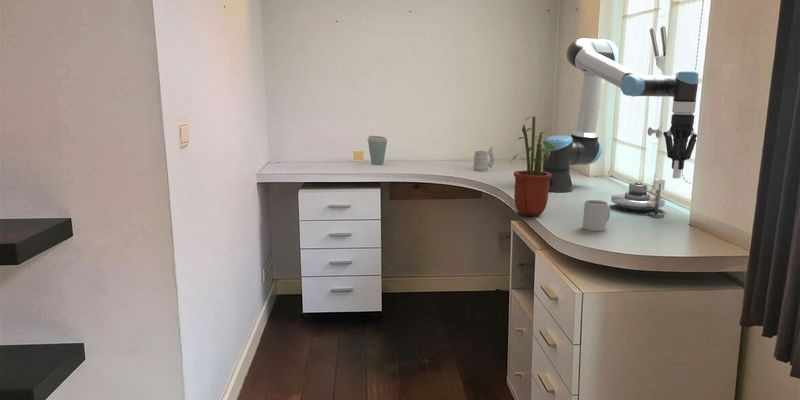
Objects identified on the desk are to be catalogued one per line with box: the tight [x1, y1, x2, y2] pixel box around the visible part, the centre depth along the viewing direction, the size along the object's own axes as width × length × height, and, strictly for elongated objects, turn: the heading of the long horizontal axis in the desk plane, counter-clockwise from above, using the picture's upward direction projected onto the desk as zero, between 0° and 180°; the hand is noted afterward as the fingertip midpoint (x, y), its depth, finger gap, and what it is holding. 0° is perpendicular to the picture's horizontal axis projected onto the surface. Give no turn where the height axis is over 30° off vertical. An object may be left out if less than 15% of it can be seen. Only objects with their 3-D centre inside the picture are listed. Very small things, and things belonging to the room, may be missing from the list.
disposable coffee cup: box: [366, 135, 388, 166], centre depth 331 cm, size 11×11×15 cm
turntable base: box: [620, 205, 653, 213], centre depth 233 cm, size 11×11×2 cm
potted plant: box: [509, 115, 558, 217], centre depth 218 cm, size 17×16×35 cm
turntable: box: [610, 190, 666, 209], centre depth 232 cm, size 19×19×8 cm
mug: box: [472, 147, 495, 172], centre depth 319 cm, size 8×12×12 cm, turn 112°
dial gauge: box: [647, 178, 666, 219], centre depth 220 cm, size 4×6×13 cm
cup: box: [582, 199, 611, 232], centre depth 199 cm, size 7×10×9 cm
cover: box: [624, 182, 651, 201], centre depth 232 cm, size 9×9×6 cm
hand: (676, 178), depth 226 cm, fingers closed
